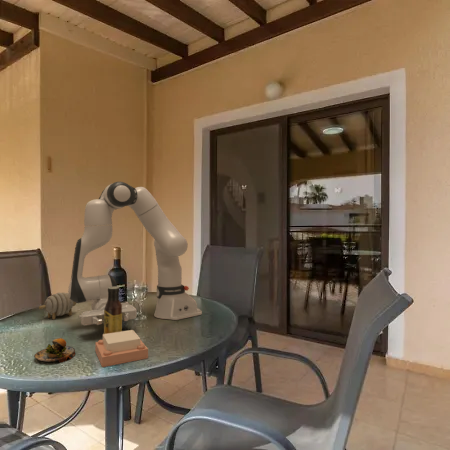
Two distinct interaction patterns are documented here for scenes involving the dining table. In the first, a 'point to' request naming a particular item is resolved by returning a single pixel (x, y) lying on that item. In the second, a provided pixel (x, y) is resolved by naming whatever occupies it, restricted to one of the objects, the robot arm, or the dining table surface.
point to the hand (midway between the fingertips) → (113, 320)
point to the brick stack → (120, 348)
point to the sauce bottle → (113, 312)
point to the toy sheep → (58, 305)
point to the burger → (56, 352)
